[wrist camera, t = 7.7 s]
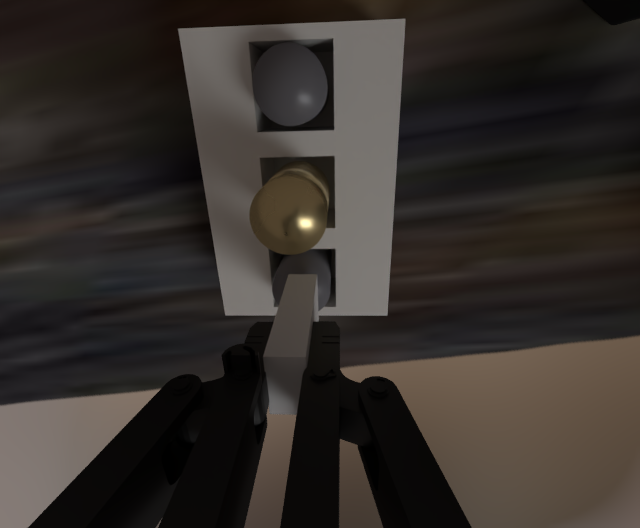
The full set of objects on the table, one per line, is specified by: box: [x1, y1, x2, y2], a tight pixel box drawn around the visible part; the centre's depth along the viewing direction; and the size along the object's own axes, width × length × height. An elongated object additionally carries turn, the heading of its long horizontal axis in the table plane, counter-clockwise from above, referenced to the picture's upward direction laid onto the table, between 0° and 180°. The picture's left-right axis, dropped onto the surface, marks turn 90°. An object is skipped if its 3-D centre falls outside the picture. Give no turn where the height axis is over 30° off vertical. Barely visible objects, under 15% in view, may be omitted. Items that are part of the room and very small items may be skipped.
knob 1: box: [252, 42, 329, 126], centre depth 17 cm, size 3×3×5 cm
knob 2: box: [272, 249, 332, 311], centre depth 21 cm, size 3×3×5 cm
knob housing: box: [178, 19, 405, 315], centre depth 20 cm, size 10×15×5 cm, turn 2°
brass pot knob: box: [249, 161, 330, 255], centre depth 17 cm, size 3×3×5 cm
